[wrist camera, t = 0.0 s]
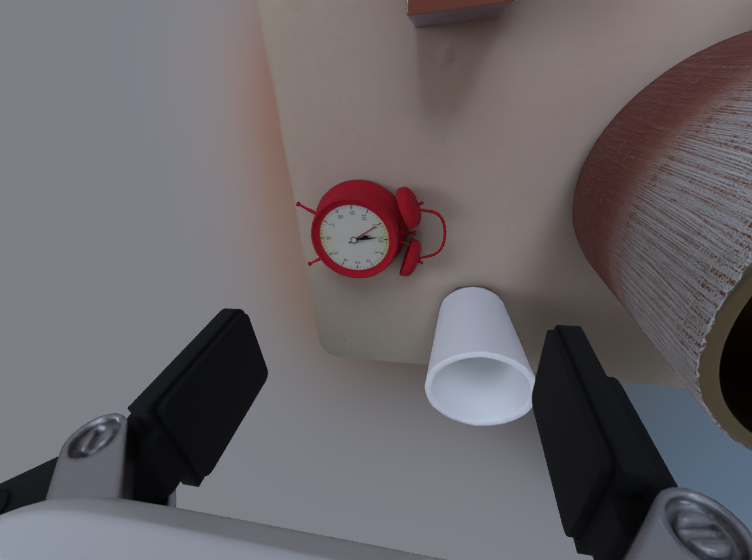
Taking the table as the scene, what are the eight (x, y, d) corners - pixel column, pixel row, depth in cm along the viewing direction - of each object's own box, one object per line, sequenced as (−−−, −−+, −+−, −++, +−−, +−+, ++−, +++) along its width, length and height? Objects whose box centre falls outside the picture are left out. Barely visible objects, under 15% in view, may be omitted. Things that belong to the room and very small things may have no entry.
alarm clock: (286, 190, 33) (434, 199, 27) (319, 174, 37) (451, 179, 32) (305, 279, 38) (432, 302, 32) (332, 255, 43) (446, 271, 37)
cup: (430, 273, 39) (423, 348, 28) (519, 274, 37) (548, 356, 26) (430, 337, 44) (425, 421, 33) (508, 341, 42) (529, 432, 31)
